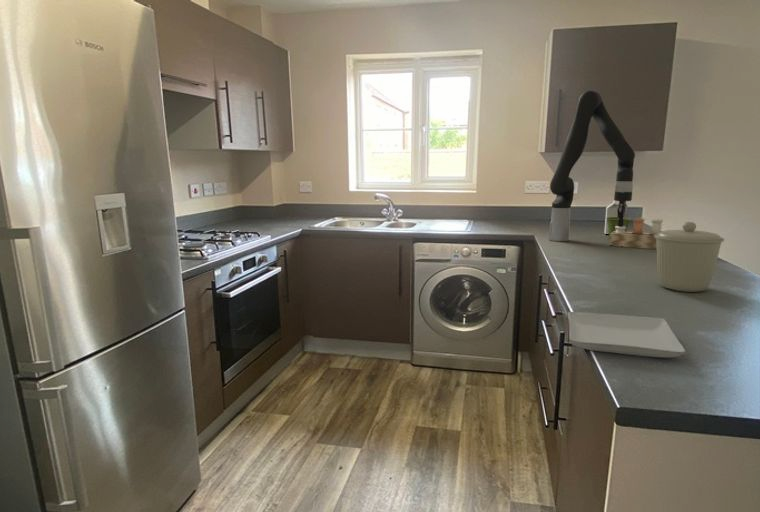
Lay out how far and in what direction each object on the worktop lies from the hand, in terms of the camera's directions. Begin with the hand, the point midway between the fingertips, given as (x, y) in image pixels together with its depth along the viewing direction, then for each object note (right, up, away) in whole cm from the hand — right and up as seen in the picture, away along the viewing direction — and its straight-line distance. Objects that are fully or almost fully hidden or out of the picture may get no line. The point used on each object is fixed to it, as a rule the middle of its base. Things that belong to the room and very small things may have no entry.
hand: (620, 226), depth 224 cm
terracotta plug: (+6, -5, -3) cm, 8 cm away
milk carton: (+14, -2, +36) cm, 38 cm away
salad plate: (-64, -34, -121) cm, 141 cm away
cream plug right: (+12, -5, -8) cm, 15 cm away
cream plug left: (0, -8, +2) cm, 8 cm away
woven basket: (+6, -10, -2) cm, 12 cm away
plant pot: (+8, -6, +18) cm, 21 cm away
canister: (-22, -25, -79) cm, 85 cm away
